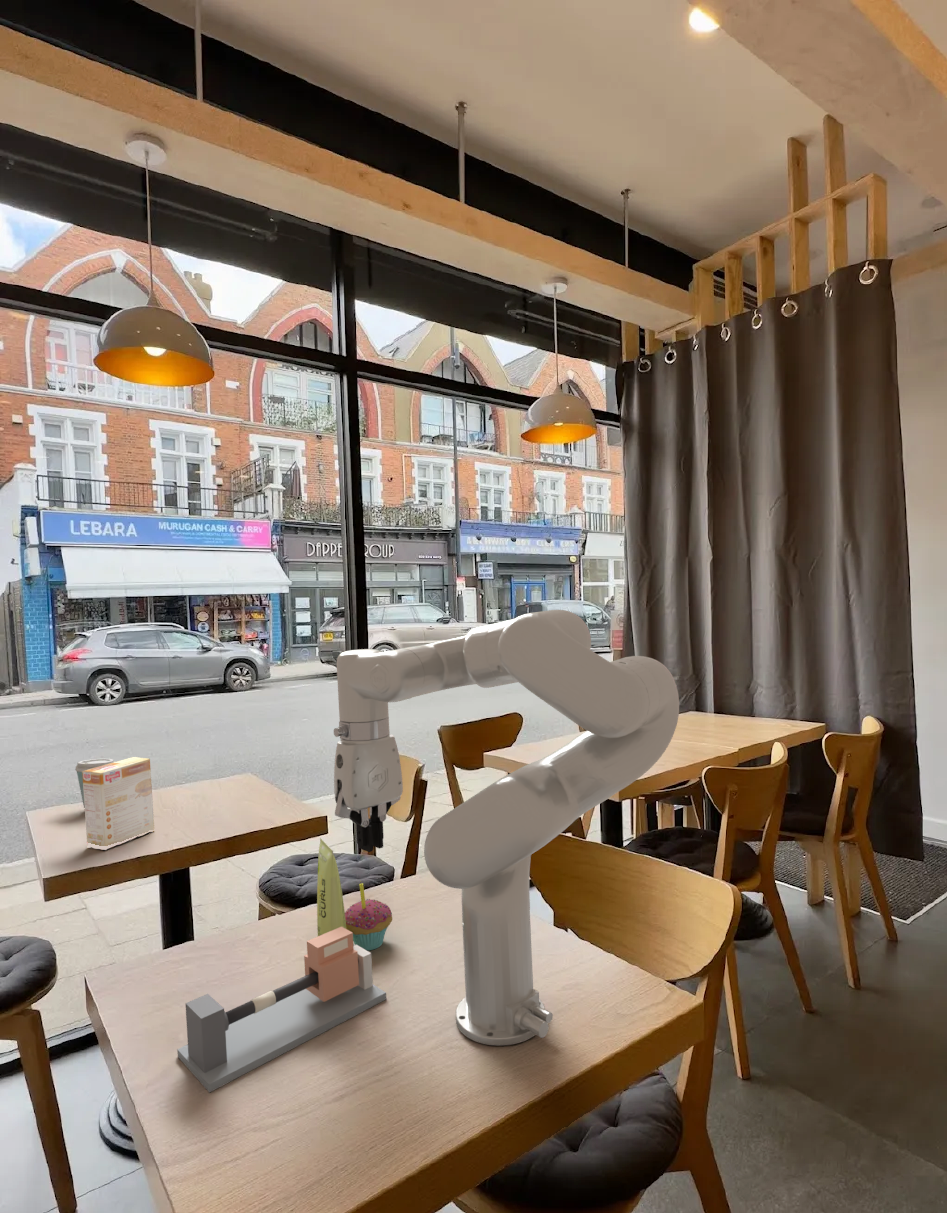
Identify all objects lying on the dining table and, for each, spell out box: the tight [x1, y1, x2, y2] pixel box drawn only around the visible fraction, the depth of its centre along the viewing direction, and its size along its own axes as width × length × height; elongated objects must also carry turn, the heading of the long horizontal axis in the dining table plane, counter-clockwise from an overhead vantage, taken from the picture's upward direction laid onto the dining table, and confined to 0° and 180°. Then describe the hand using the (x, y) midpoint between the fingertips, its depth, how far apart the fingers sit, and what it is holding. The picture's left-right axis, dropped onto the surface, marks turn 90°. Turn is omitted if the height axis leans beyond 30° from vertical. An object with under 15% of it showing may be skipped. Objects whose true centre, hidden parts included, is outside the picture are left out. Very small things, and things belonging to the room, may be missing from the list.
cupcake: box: [345, 879, 393, 952], centre depth 125 cm, size 9×8×12 cm
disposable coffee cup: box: [74, 758, 116, 809], centre depth 211 cm, size 11×11×15 cm
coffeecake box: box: [82, 756, 155, 846], centre depth 185 cm, size 15×7×20 cm, turn 154°
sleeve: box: [303, 927, 359, 1002], centre depth 107 cm, size 6×5×8 cm
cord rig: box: [176, 944, 387, 1093], centre depth 102 cm, size 27×10×8 cm, turn 133°
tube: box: [316, 837, 346, 937], centre depth 120 cm, size 6×5×20 cm
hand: (370, 847), depth 112 cm, fingers closed
